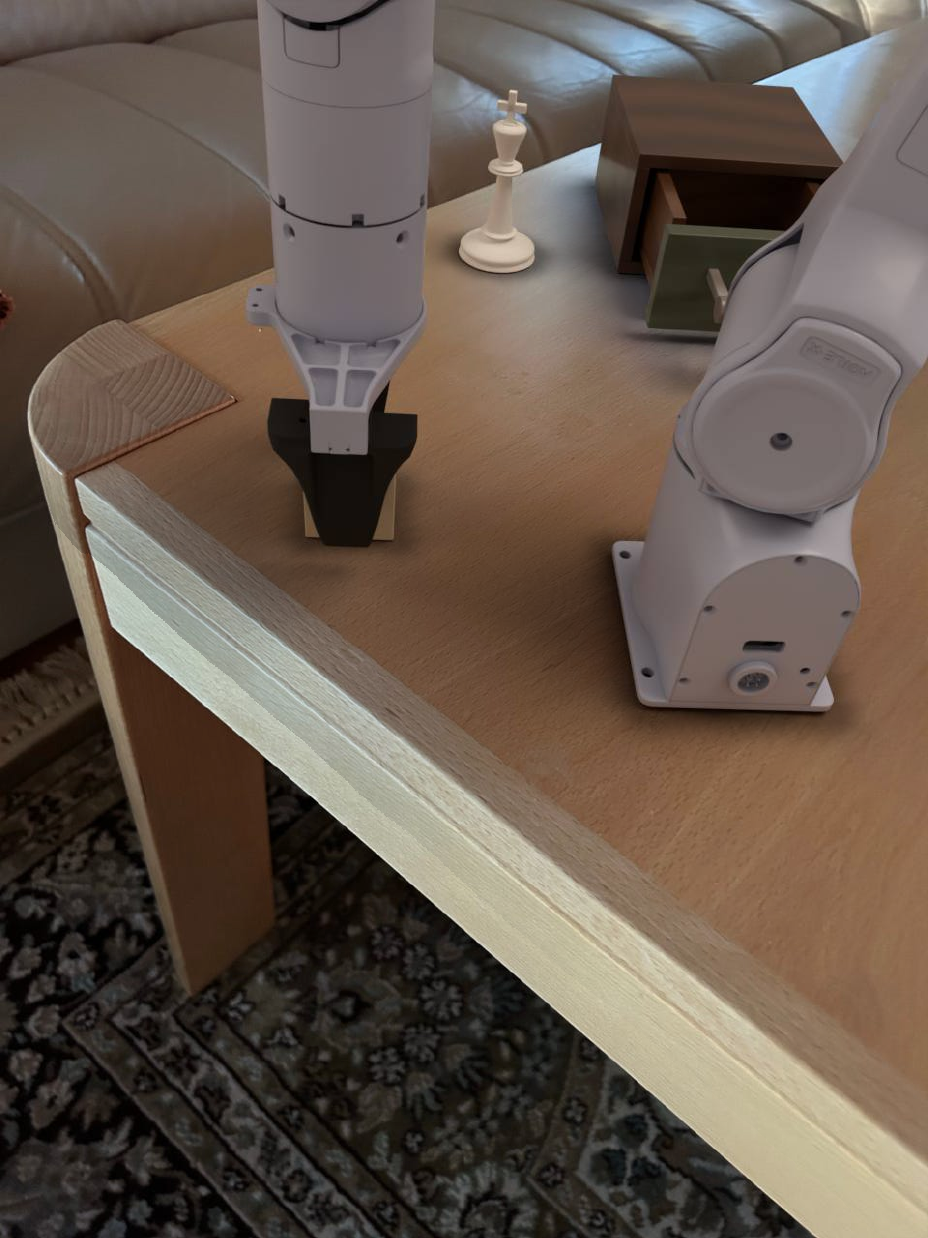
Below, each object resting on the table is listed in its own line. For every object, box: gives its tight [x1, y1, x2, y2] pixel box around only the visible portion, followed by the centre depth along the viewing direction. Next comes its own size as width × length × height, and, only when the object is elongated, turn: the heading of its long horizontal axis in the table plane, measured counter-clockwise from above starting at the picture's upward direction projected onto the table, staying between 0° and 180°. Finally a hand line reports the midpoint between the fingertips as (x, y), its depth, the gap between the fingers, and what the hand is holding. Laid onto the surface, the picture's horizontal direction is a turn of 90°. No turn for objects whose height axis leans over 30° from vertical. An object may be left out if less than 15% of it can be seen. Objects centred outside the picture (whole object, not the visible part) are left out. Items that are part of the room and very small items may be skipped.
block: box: [302, 473, 397, 541], centre depth 47 cm, size 4×4×4 cm
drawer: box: [636, 168, 820, 333], centre depth 60 cm, size 17×11×6 cm
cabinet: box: [594, 74, 844, 275], centre depth 68 cm, size 13×13×8 cm
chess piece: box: [458, 89, 536, 274], centre depth 63 cm, size 5×5×10 cm
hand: (351, 485), depth 47 cm, fingers open, 7 cm apart
